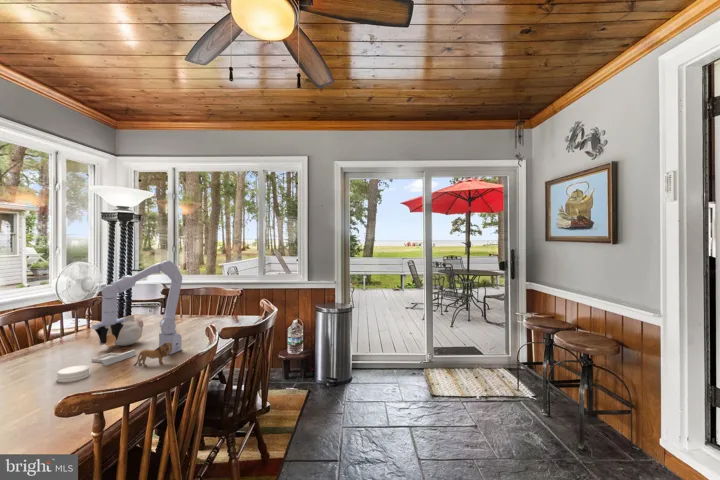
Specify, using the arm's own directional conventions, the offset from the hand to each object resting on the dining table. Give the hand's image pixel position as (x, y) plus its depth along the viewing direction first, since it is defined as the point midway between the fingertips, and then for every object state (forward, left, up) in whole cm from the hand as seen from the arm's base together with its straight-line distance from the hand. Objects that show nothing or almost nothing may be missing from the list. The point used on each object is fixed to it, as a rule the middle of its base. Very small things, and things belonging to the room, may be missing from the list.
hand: (109, 341), depth 163 cm
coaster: (-7, +21, -8) cm, 24 cm away
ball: (0, 0, -2) cm, 2 cm away
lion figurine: (-25, 0, -8) cm, 26 cm away
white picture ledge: (-6, -1, -8) cm, 10 cm away
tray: (0, 0, -8) cm, 8 cm away
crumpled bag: (+15, -20, -8) cm, 26 cm away
